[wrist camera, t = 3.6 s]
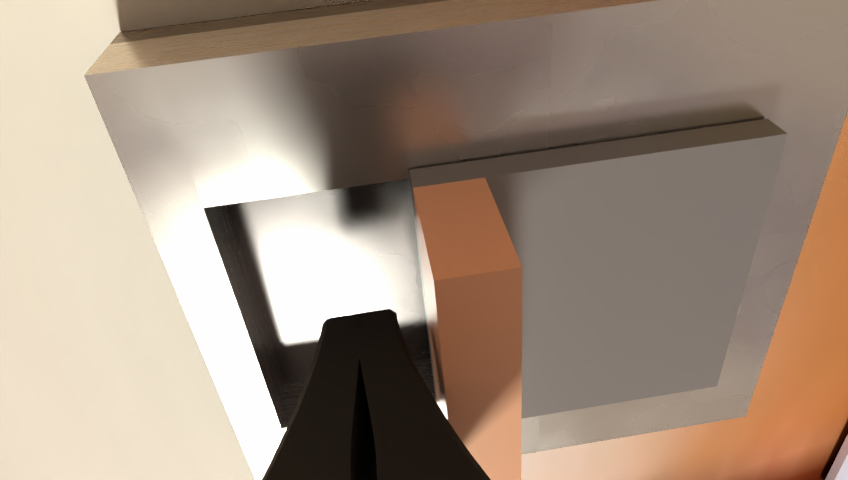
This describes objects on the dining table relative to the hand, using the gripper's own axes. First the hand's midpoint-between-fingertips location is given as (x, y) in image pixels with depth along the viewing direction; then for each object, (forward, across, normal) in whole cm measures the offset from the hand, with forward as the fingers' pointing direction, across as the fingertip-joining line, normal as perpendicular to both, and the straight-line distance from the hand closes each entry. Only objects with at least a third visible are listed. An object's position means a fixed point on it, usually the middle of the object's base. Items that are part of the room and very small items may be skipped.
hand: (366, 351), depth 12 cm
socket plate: (+3, -3, 0) cm, 4 cm away
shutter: (+1, -4, 0) cm, 5 cm away
